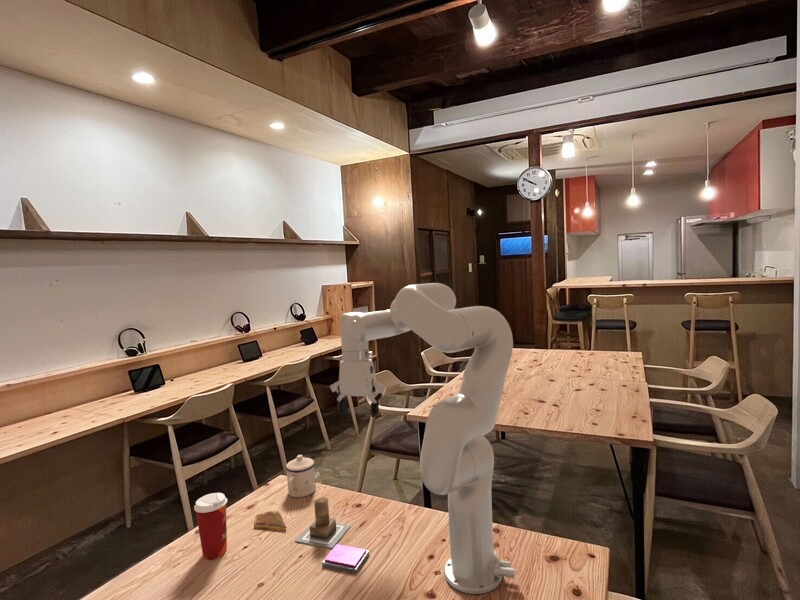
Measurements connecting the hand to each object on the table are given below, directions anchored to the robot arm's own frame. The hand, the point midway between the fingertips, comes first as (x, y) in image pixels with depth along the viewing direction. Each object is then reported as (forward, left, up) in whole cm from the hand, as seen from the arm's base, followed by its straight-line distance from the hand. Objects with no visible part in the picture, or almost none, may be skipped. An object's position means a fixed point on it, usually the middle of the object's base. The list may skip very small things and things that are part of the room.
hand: (359, 414), depth 124 cm
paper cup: (+29, +28, -28) cm, 49 cm away
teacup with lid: (+25, -4, -28) cm, 38 cm away
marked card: (+6, +14, -28) cm, 32 cm away
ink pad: (-5, +22, -28) cm, 36 cm away
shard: (+23, +12, -29) cm, 39 cm away
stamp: (+6, +14, -28) cm, 32 cm away
